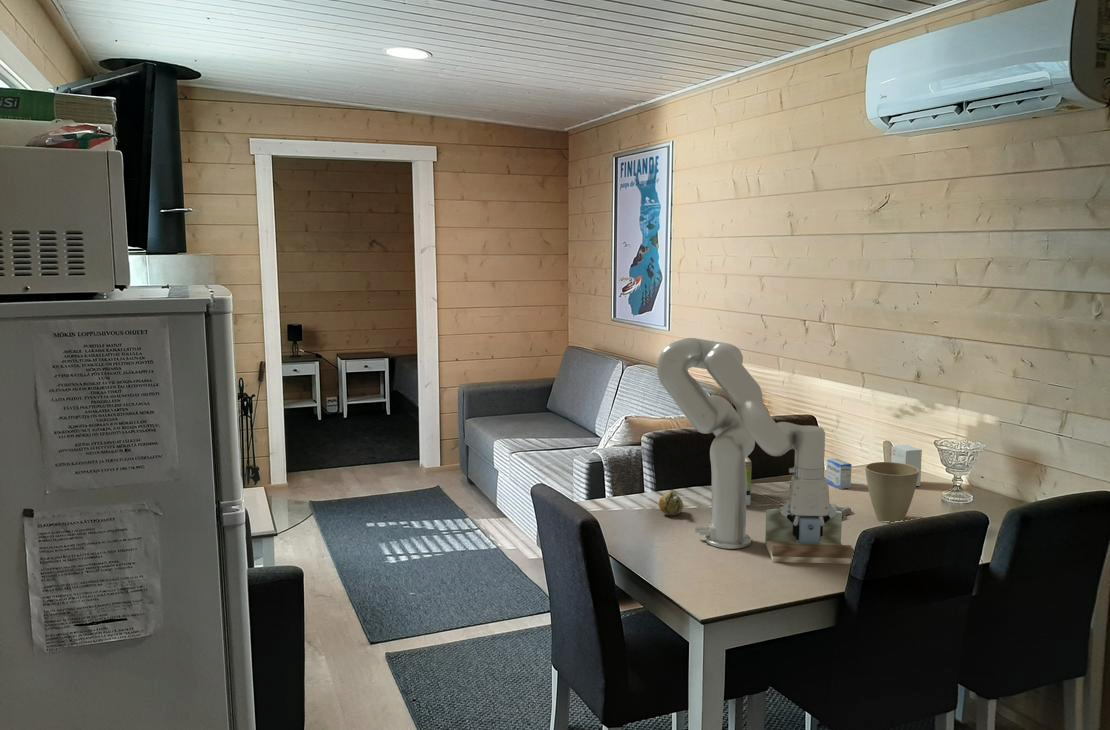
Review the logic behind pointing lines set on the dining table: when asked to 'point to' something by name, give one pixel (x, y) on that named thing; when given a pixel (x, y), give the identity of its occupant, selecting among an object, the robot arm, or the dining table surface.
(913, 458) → the small box
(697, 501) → the dining table surface
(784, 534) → the upright panel stand
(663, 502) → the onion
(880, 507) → the plant pot
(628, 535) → the dining table surface
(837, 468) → the medicine box
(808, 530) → the cabinet block
